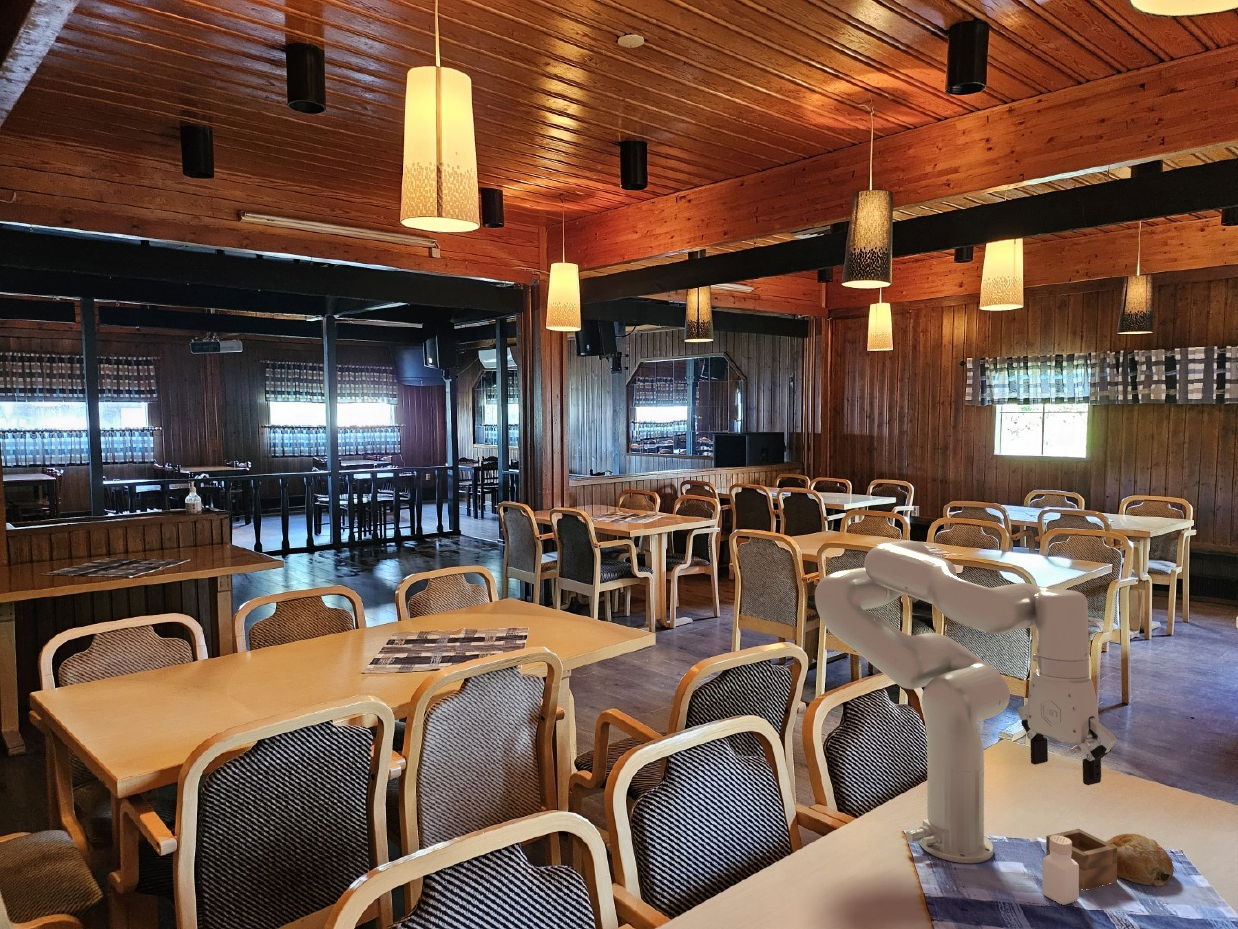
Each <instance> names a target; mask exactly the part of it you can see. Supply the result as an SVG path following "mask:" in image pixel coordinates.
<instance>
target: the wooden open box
mask: <svg viewBox="0 0 1238 929" xmlns="http://www.w3.org/2000/svg"><path fill="white" fill-rule="evenodd" d="M1055 835H1058V836H1063V837H1066V838H1068V839H1070V840H1071V842H1072V854H1071V859H1073V860H1074V861H1075V862H1077V864H1078V865H1079V888H1080V889H1079V890H1081V889H1083V890H1086V889H1090V890H1094V889H1097V888H1096V887H1098V888H1100V887H1099V886H1102V885H1106V886H1108V885H1107V884H1109V883H1113V884H1117V883H1118V876H1117V848H1116V847H1114V846H1112V845H1110V844H1108V843H1106V841H1104V840H1102V839H1101V838H1098V837H1096V836H1095V835H1092V834H1091V833H1088V832H1086V831H1085V830H1082V829H1080V828H1075V829H1072V830H1066V831H1062V832H1059V833H1054V834H1047V835H1046V836H1045V837H1046V839H1045V840H1046V841H1045V842H1046V850H1045V851H1046V852H1045V854H1046V855H1045V857H1046V856H1047V855H1050V850H1049V845H1050V844H1049V842H1050V837H1051V836H1055ZM1109 885H1110V884H1109ZM1102 887H1103V886H1102ZM1093 888H1094V889H1093ZM1083 890H1082V891H1083ZM1086 891H1087V890H1086Z"/></svg>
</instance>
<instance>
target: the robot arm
mask: <svg viewBox="0 0 1238 929" xmlns="http://www.w3.org/2000/svg"><path fill="white" fill-rule="evenodd" d="M957 576H958V574H957V569H956V567H955V565H954V564H953V563H952V561H950V560H948V559H945V558H943V557H938V556H934V555H933V554H932V552H931V551H930V549H929V548H927V546H925V545H924V544H923V543H921V542H919V541H913V540H901V541H900V540H899V541H893V542H885V543H881V544H877V545H875V546H874V547H872V548H871V549H870V550H869V551H868V552H867V554H866V555H865V559H864V562H863V567H859V568H852V569H845V570H844V569H843V570H840V571H835V572H833V573H830V574H828V575H826V576H824V577H823V578H821V580H820V581H819V582H818V584H817V585H816V587H815V591H814V604H815V608H816V610H817V611H816V612H817V613H818V616H819V618H820V620H821V622H822V623H823V625H824V626H825V628H826V629H827V631H829V632H830V633H831V634H832V635H833V636H834V637H835V638H837V639H838V640H839V641H841V642H842V643H844V644H845V645H846V646H848V647H849V648H851V649H852V650H854V651H855V652H857V653H858V654H859V655H860V656H861V657H863V658H864V659H865V660H866V661H867V662H869V663H870V664H871V665H872V666H874V667H875V668H876V669H877V670H879V671H880V672H881V673H882V674H884V675H885V677H888V678H889V679H890V680H891V681H892V682H894V683H895V684H897V685H898V686H899V687H901V688H903V689H907V690H916V689H920V688H923V691H922V695H921V707H922V708H921V709H922V712H923V718H924V723H925V729H926V731H925V732H926V745H927V747H926V751H927V752H926V753H927V754H926V757H927V765H926V766H927V782H926V783H927V786H926V787H927V793H926V794H927V798H926V799H927V800H926V801H927V807H926V808H927V818H926V819H922V826H920V827H919V828H918V829H911V830H907V831H905V838H906V840H907V842H908V843H916V842H918V843H919V845H920V846H921V848H922V849H923V850H924V851H926V852H927V853H929V854H931V856H934V857H937V858H939V859H942V860H944V861H948V862H953V863H960V864H978V863H983V862H985V861H988V860H990V859H991V858H992V857H993V855H994V850H995V848H994V845H993V843H992V841H991V840H990V839H989V838H988V837H987V836H986V835H985V752H984V746H983V742H982V739H981V737H980V734H979V730H978V723H981V722H982V721H985V720H988V719H990V718H993V717H995V716H998V715H999V714H1001V713H1002V712H1004V711H1005V710H1006V708H1007V707H1008V705H1009V703H1010V697H1011V694H1010V688H1009V685H1008V683H1007V681H1006V680H1005V678H1004V676H1003V675H1002V674H1000V672H999V671H997V669H995V668H994V667H993V666H992V665H991V664H990V663H987V661H984V660H983V659H981V658H980V657H979V656H977V655H976V654H975V653H974V652H972V651H970V650H969V649H967V648H966V647H965V646H963V645H961V644H960V643H958V642H957V641H956V640H954V639H952V638H951V637H948V635H947V636H946V635H944V634H941V633H938V632H937V633H936V632H926V633H921V634H916V635H910V634H907V633H905V632H903V631H901V630H900V629H899V628H896V627H895V626H894V625H893V624H892V623H890V622H889V621H888V620H887V619H884V618H882V617H880V616H878V615H876V614H873V613H871V612H868V611H867V610H871V609H875V608H880V607H882V606H885V605H888V604H889V603H890V602H892V601H894V600H896V599H898V598H899V597H901V596H902V595H906V596H910V597H912V598H915V599H918V600H921V601H923V602H926V603H928V604H932V605H933V606H934V608H935V609H936V610H937V611H939V612H940V613H941V614H942V615H943V616H945V617H946V618H947V619H949V620H951V621H953V622H955V623H958V624H961V625H963V626H967V627H969V628H972V629H975V630H978V631H981V632H984V633H988V634H995V635H997V634H998V635H1002V634H1008V633H1011V632H1015V631H1019V630H1024V629H1030V628H1035V642H1036V643H1035V653H1033V656H1032V660H1033V661H1034V662H1035V663H1036V669H1035V670H1033V671H1032V673H1031V677H1030V682H1029V687H1028V695H1027V704H1025V705H1022V706H1019V707H1017V708H1016V710H1017V711H1016V712H1017V714H1018V716H1019V719H1020V720H1021V722H1020V724H1021V726H1022V728H1023V729H1024V731H1025V732H1026V737H1027V739H1028V740H1030V764H1032V765H1035V766H1036V765H1040V764H1044V763H1045V764H1046V763H1047V762H1048V761H1049V757H1048V756H1049V753H1048V751H1049V749H1048V748H1049V747H1048V738H1050V739H1053V740H1056V741H1059V742H1062V743H1065V744H1067V745H1070V746H1071V745H1072V746H1078V747H1079V748H1080V749H1081V750H1080V751H1082V753H1083V755H1084V756H1085V758H1082V783H1083V785H1086V786H1092V785H1095V784H1100V783H1101V781H1102V759H1104V758H1105V757H1106V756H1107V755H1108V754H1109V753H1110V752H1112V748H1113V747H1114V745H1115V743H1116V741H1117V736H1116V735H1114V733H1112V732H1111V731H1110V730H1109V729H1108V728H1107V727H1105V726H1104V725H1103V724H1102V723H1101V722H1100V718H1099V709H1098V701H1097V695H1096V691H1095V686H1094V682H1093V679H1091V678H1090V651H1089V650H1090V648H1089V643H1090V642H1089V640H1090V639H1089V605H1088V599H1087V597H1086V595H1085V594H1083V592H1079V591H1077V590H1070V589H1062V588H1058V589H1057V588H1053V589H1052V588H1051V589H1050V588H1048V587H1044V586H1039V585H1037V584H1033V583H1028V582H1027V583H1026V582H1017V583H1012V584H1005V585H1000V586H996V587H989V586H988V587H987V586H983V585H981V584H976V583H973V582H971V581H967V580H964V579H962V578H959V577H957ZM1099 738H1100V743H1099V742H1098V740H1099Z"/></svg>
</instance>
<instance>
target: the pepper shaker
mask: <svg viewBox="0 0 1238 929" xmlns="http://www.w3.org/2000/svg"><path fill="white" fill-rule="evenodd" d="M1049 844H1050V845H1049V850H1050V855H1047V856H1046V855H1045V856H1044V857H1043V859H1042V894H1043V896H1045V897H1047V898H1048V899H1050V900H1052V901H1054V902H1055V901H1056V902H1055V903H1057V904H1059V905H1061V904H1062V905H1064V906H1065V905H1068V904H1072V903H1074V901H1075V902H1078V900H1079V898H1080V895H1079V892H1080V889H1079V865H1078V864H1077V862H1075V861H1074V860H1073V859H1071V854H1072V842H1071V840H1070V839H1068V838H1066V837H1063V836H1058V835H1055V836H1051V837H1050V842H1049Z"/></svg>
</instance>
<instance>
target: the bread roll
mask: <svg viewBox="0 0 1238 929" xmlns="http://www.w3.org/2000/svg"><path fill="white" fill-rule="evenodd" d="M1105 842H1106V843H1108V844H1110V845H1112V846H1114V847H1116V848H1117V878H1120V877H1121V878H1120V879H1124V880H1127V881H1129V882H1132V883H1135V884H1138V885H1144V886H1154V887H1158V888H1160V887H1163V886H1164V885H1165V884H1166V883H1167V882H1168V881H1170V880H1171V879H1172V878H1173V875H1174V870H1175V869H1174V867H1175V866H1174V863H1173V861H1172V858H1171V856H1169V854H1168V853H1167V851H1166V850H1165V849H1164V848H1163V847H1162V846H1160V845H1159V844H1158V841H1156V840H1155V839H1152V838H1148V837H1146V836H1144V835H1140V834H1137V833H1123V834H1122V833H1121V834H1117V835H1115V836H1113V837H1111V838H1110V839H1107V840H1106V841H1105Z"/></svg>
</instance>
